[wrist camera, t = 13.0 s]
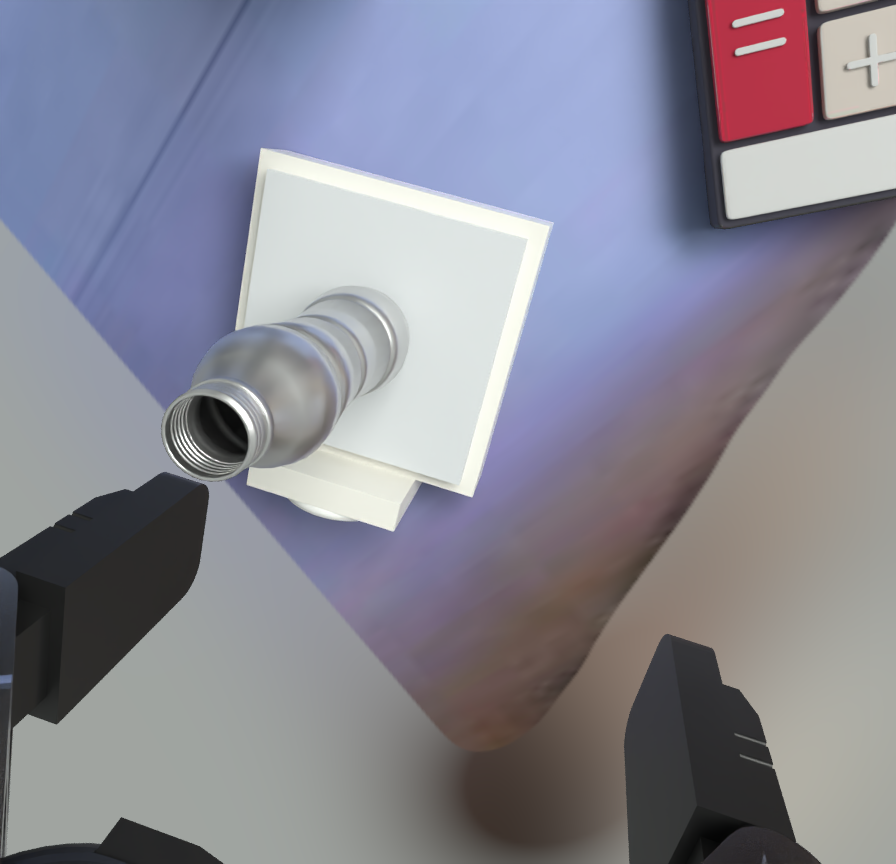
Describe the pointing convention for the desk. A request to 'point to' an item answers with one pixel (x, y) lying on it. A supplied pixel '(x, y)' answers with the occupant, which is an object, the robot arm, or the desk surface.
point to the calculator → (794, 105)
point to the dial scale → (427, 313)
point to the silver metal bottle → (284, 384)
